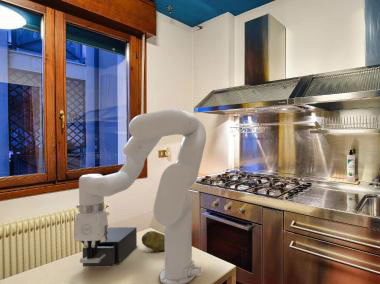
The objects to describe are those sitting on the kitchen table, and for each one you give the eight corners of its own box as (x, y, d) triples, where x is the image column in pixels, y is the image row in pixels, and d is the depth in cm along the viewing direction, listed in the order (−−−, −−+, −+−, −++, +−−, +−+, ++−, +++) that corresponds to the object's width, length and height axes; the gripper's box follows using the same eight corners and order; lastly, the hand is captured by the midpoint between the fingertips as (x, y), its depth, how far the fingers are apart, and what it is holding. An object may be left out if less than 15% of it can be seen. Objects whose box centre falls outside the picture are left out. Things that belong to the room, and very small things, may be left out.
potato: (165, 255, 97) (165, 236, 97) (138, 252, 99) (138, 234, 99) (175, 246, 106) (175, 229, 105) (149, 244, 108) (149, 227, 107)
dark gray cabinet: (118, 264, 90) (118, 241, 90) (87, 264, 90) (86, 241, 90) (136, 246, 105) (136, 227, 105) (109, 246, 105) (109, 227, 104)
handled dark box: (104, 274, 82) (104, 254, 82) (73, 274, 82) (72, 254, 82) (130, 249, 100) (130, 233, 100) (104, 249, 100) (104, 233, 100)
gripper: (63, 211, 80) (63, 262, 80) (105, 211, 80) (106, 262, 81) (79, 204, 88) (79, 251, 88) (118, 204, 88) (118, 251, 88)
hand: (92, 256), depth 84 cm, fingers closed
